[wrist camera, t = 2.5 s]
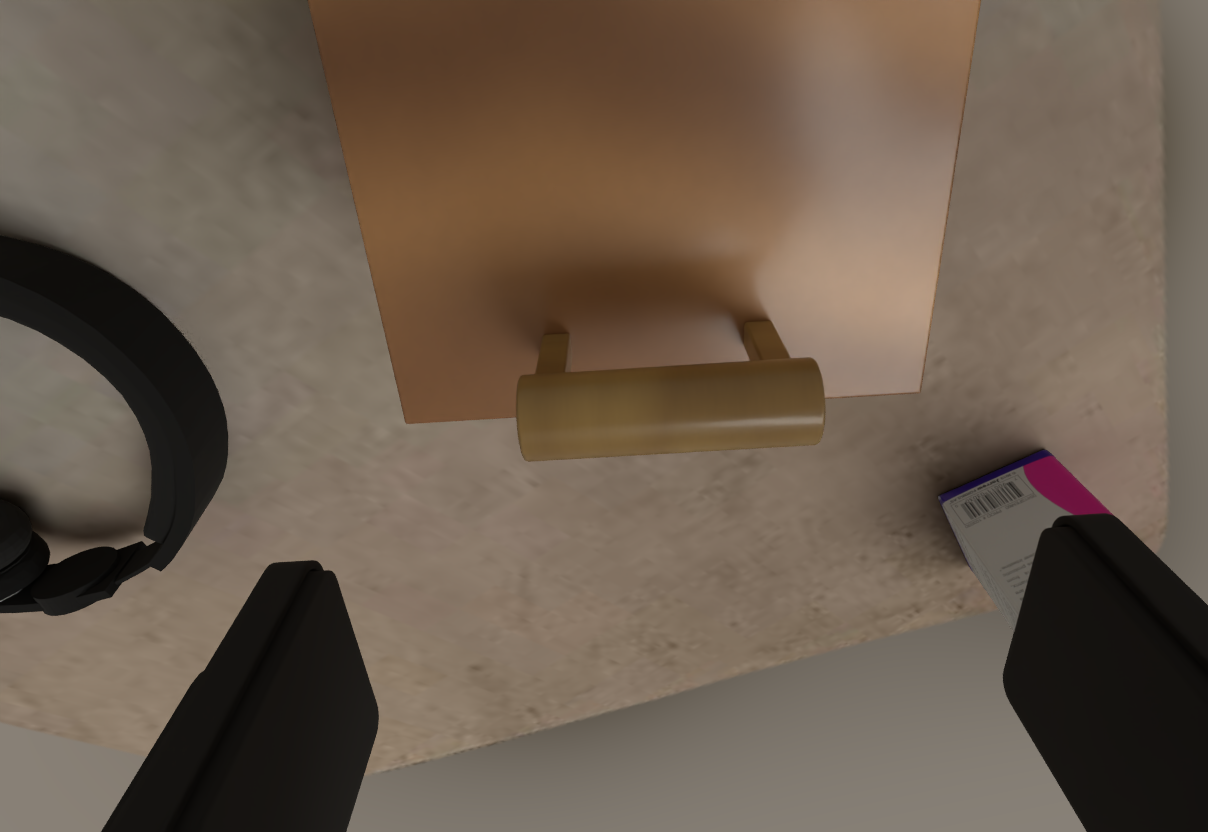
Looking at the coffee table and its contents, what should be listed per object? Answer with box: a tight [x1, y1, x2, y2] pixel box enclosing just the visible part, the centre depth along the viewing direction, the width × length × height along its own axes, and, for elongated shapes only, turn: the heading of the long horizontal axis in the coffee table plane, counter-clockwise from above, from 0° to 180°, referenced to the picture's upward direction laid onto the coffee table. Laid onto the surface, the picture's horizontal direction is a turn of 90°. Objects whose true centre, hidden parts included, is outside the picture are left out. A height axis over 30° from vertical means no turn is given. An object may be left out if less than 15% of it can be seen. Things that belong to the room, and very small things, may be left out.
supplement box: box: [938, 450, 1113, 631], centre depth 33 cm, size 6×6×12 cm
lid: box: [308, 0, 981, 462], centre depth 14 cm, size 15×14×5 cm
